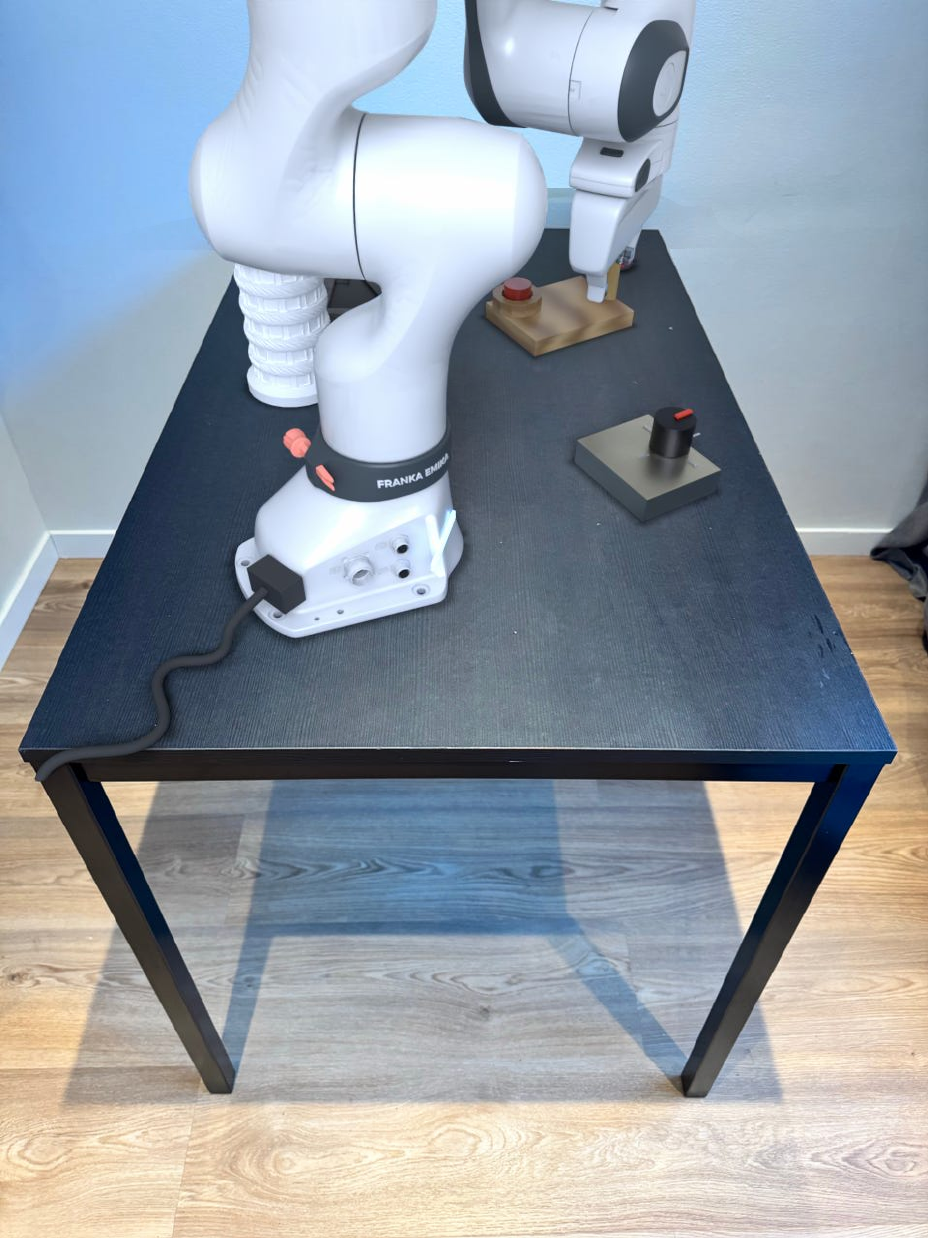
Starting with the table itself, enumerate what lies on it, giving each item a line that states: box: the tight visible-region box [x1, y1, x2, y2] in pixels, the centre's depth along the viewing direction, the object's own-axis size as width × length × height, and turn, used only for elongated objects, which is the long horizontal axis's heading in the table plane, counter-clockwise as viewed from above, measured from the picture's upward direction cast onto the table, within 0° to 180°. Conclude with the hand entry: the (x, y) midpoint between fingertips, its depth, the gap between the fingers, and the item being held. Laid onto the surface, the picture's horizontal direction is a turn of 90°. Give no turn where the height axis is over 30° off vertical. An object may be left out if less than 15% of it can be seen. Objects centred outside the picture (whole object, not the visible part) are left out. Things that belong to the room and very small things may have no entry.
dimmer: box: [574, 413, 722, 523], centre depth 95 cm, size 12×12×3 cm
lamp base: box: [485, 275, 635, 357], centre depth 118 cm, size 16×12×4 cm
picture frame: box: [323, 278, 382, 323], centre depth 124 cm, size 16×2×21 cm
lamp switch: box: [503, 276, 532, 301], centre depth 116 cm, size 4×4×2 cm
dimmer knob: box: [649, 406, 698, 458], centre depth 93 cm, size 4×4×4 cm
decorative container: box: [233, 263, 331, 408], centre depth 102 cm, size 12×12×18 cm
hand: (610, 280), depth 97 cm, fingers open, 8 cm apart
